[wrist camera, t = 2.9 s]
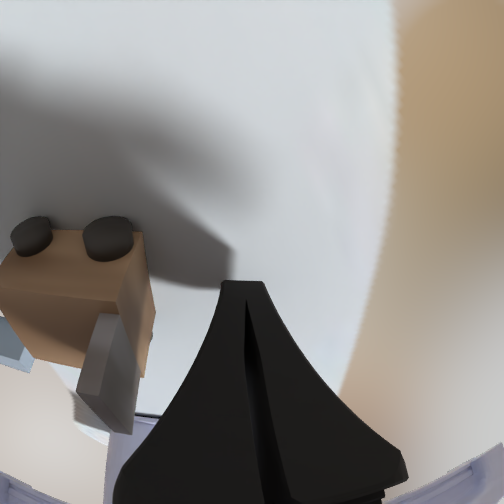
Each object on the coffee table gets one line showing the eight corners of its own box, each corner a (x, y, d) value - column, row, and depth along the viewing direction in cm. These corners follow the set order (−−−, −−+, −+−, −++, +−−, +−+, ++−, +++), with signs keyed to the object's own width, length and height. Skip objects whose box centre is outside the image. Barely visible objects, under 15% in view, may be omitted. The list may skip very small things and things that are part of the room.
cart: (157, 320, 12) (140, 443, 7) (61, 310, 11) (24, 414, 7) (140, 215, 9) (80, 371, 4) (24, 215, 8) (-57, 328, 4)
